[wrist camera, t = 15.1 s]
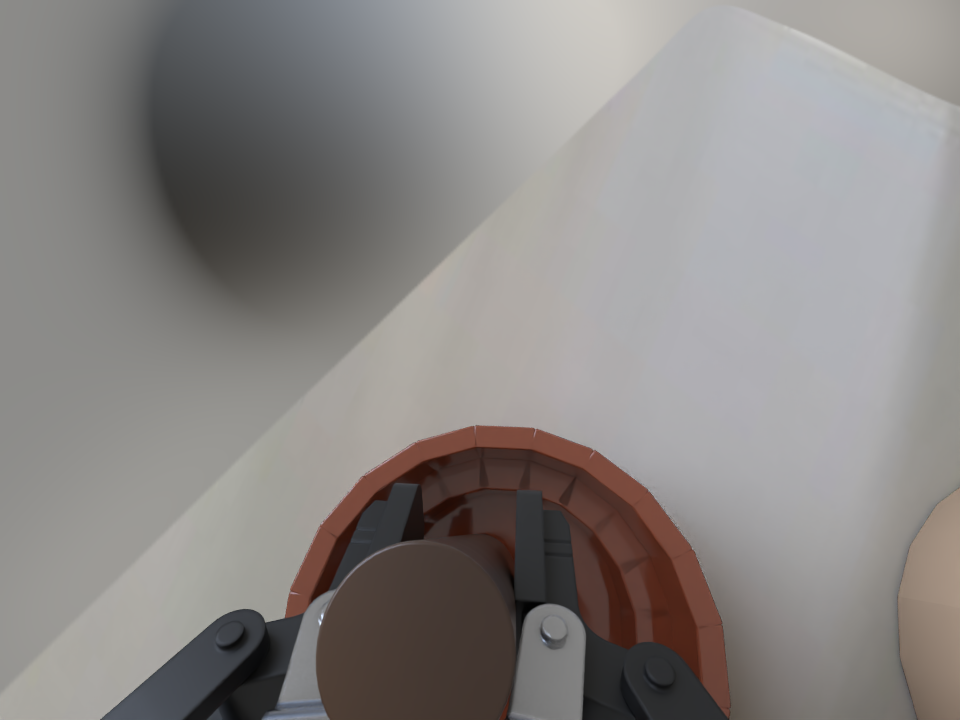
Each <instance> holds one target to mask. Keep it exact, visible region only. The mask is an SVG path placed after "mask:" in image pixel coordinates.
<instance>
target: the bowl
mask: <svg viewBox="0 0 960 720" xmlns="http://www.w3.org/2000/svg"><path fill="white" fill-rule="evenodd" d="M395 483H405V484H420V485H421V489H422V501H423V513H424V539H431V538H441V537H450V536H459V535H468V534H486V535H489V536H492V537H494V538H496V539H497V540H499V541H500V542H501V543H502V544H503V545H504V546H505V547H506V548H507V549H508V551H509V552H510V554H511V556H512V559H513V562H514V565H515V534H516V500H517V490H536V491H542V502H543V510H557V511H561V512H562V514H563V516H564V517H565V519H566V520H567V522H568V523H569V525H570V534H571V544H572V552H573V561H574V569H575V578H576V587H577V596H578V605H579V611H580V613H581V616H582V618H583V620H584V622H585V623H586V624H587V626H588V627H589V628H590V629H591V630H592V631H593V632H594V633H595V634H597V635H598V636H599V637H601V638H603V639H604V640H606V641H609V642H611V643H613V644H616V645H618V646H621V647H623V648H626V649H628V650H629V649H630V648H631V647H632V646H634V645H636V644H638V643H641V642H655V643H659V644H662V645H665V646H667V647H669V648H670V649H672V650H673V651H675V652H676V653H677V654H679V655H680V656H681V657H682V658H683V659H684V661H685V662H686V663H687V664H688V666H689V667H690V668H691V670H692V671H693V672H694V674H695V675H696V676H697V678H698V679H699V680H700V682H701V683H702V684H703V686H704V687H705V688H706V690H707V691H708V692H709V694H710V695H711V696H712V698H713V699H714V700H715V702H716V703H717V704H718V706H719V707H720V708H721V710H722V711H723V712H724V714H725V715H726V716H727V718H728V719H729V716H730V709H729V708H731V703H730V693H729V683H728V674H727V664H726V654H725V644H724V634H723V626H722V625H721V624H722V621H721V618H720V616H719V613H718V610H717V608H716V605H715V603H714V600H713V598H712V595H711V593H710V590H709V588H708V585H707V582H706V580H705V577H704V575H703V572H702V570H701V567H700V565H699V562H698V560H697V557H696V554H695V552H694V550H692V547H691V546H690V544H689V543H688V542H687V540H686V539H685V538H684V536H683V535H682V534H681V533H680V531H679V530H678V529H677V527H676V526H675V525H674V523H673V522H672V521H671V519H670V518H669V517H668V515H667V514H666V513H665V511H664V510H663V509H662V507H661V506H660V505H659V503H658V502H657V501H656V499H655V498H654V497H653V495H652V494H651V493H650V492H649V491H648V489H647V488H645V487H644V486H643V485H641V484H640V483H639V482H637V481H636V480H635V479H633V478H632V477H631V476H629V475H628V474H627V473H625V472H624V471H623V470H621V469H620V468H619V467H617V466H616V465H615V464H613V463H612V462H611V461H609V460H608V459H607V458H605V457H604V456H603V455H601V454H600V453H599V452H597V451H596V450H594V451H593V449H591V448H589V447H586V446H583V445H580V444H578V443H575V442H572V441H569V440H567V439H564V438H561V437H558V436H556V435H553V434H550V433H547V432H545V431H542V430H539V429H534V428H527V427H504V426H480V425H476V426H470V427H466V428H463V429H459V430H455V431H452V432H448V433H444V434H441V435H437V436H433V437H430V438H426V439H423V440H419V441H417V443H416V442H415V443H413V444H411V445H410V446H408V447H406V448H405V449H403V450H402V451H400V452H399V453H397V454H396V455H394V456H392V457H391V458H389V459H388V460H386V461H385V462H383V463H382V464H380V465H378V466H377V467H375V468H374V469H372V470H371V471H369V472H368V473H366V474H365V475H364V476H362V477H361V478H360V479H359V481H358V482H357V483H356V484H355V485H354V486H353V487H352V489H351V490H350V491H349V492H348V493H347V494H346V496H345V497H344V498H343V499H342V500H341V501H340V503H339V504H338V505H337V506H336V507H335V508H334V510H333V511H332V512H331V513H330V514H329V515H328V516H327V518H326V519H325V520H324V521H323V522H322V523H321V525H320V527H319V528H318V531H317V533H316V535H315V537H314V539H313V541H312V543H311V546H310V548H309V550H308V552H307V554H306V556H305V558H304V561H303V563H302V565H301V567H300V569H299V571H298V573H297V575H296V578H295V580H294V582H293V584H292V586H291V588H290V593H289V597H288V603H287V609H286V614H285V618H289V617H293V616H296V615H299V614H302V613H304V612H305V611H306V609H307V608H308V606H309V605H310V604H311V603H312V602H313V601H314V600H315V599H316V598H317V597H319V596H320V595H322V594H324V593H326V592H328V590H329V588H330V586H331V584H332V582H333V579H334V577H335V575H336V572H337V570H338V568H339V565H340V563H341V561H342V559H343V556H344V554H345V552H346V549H347V547H348V545H349V543H350V542H351V538H352V536H353V533H354V531H356V527H357V524H358V522H359V520H360V517H361V515H362V513H363V512H364V511H365V510H366V509H367V508H368V507H369V506H370V505H371V504H372V503H373V502H374V501H375V500H380V501H387V500H388V498H389V495H390V493H391V490H392V487H393V485H394V484H395ZM510 693H511V692H510ZM509 699H510V695H509V698H508V701H507V704H506V706H505V708H504V710H503V713H502V715H501V717H500V719H499V720H504V718H506V714H507V710H508V705H509Z"/></svg>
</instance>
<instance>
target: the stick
mask: <svg viewBox="0 0 960 720" xmlns="http://www.w3.org/2000/svg"><path fill="white" fill-rule="evenodd" d="M514 570H515V565H514V562H513V559H512V556H511V554H510V552H509V551H508V549H507V548H506V547H505V546H504V545H503V544H502V543H501V542H500V541H499V540H497V539H496V538H494V537H492V536H489V535H486V534H468V535H459V536H450V537H441V538H431V539H422V540H413V541H406V542H400V543H396V544H393V545H390V546H387V547H385V548H383V549H380V550H378V551H376V552H374V553H373V554H371V555H370V556H368V557H366V558H365V559H364V560H363V561H361V562H360V563H359V564H358V565H356V566H355V567H354V568H353V569H352V570H351V571H350V572H349V573H348V574H347V575H346V577H345V578H344V579H343V581H342V582H341V583H340V585H339V586H338V587H337V589H336V591H335V592H334V594H333V596H332V597H331V599H330V601H329V604H328V606H327V608H326V610H325V612H324V616H323V619H322V622H321V625H320V629H319V634H318V639H317V647H316V676H317V684H318V689H319V693H320V697H321V701H322V704H323V706H324V709H325V712H326V714H327V716H328V718H329V720H499V719H500V717H501V715H502V713H503V710H504V708H505V706H506V704H507V701H508V698H509V695H510V692H511V689H512V684H513V679H514V674H515V665H516V604H515V597H514Z"/></svg>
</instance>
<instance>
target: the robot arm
mask: <svg viewBox="0 0 960 720" xmlns="http://www.w3.org/2000/svg"><path fill="white" fill-rule="evenodd" d="M422 539H424V513H423V501H422V489H421V485H420V484H405V483H395V484H394V485H393V487H392V490H391V493H390V495H389V498H388V500H387V501H380V500H375V501H374V502H373V503H372V504H371V505H370V506H369V507H368V508H367V509H366V510H365V511H364V512H363V513H362V515H361V517H360V520H359V522H358V524H357V527H356V531H354V533H353V536H352V538H351V542H350V543H349V545H348V547H347V549H346V552H345V554H344V556H343V559H342V561H341V563H340V565H339V568H338V570H337V572H336V575H335V577H334V579H333V582H332V584H331V586H330V588H329V590H328V592H326V593H324V594H322V595H320V596H319V597H317V598H316V599H315V600H314V601H313V602H312V603H311V604H310V605H309V606H308V608H307V609H306V611H305V612H304V613H302V614H299V615H296V616H293V617H289V618H284V619H280V620H276V621H271V622H267V623H265V621H264V618H263V617H262V615H261V614H260V613H258V612H257V611H254V610H251V609H241V610H236V611H233V612H230V613H227V614H225V615H223V616H222V617H220V618H218V619H217V620H216V621H214V622H213V623H212V624H211V625H209V626H208V627H207V628H206V629H205V630H204V631H203V632H201V633H200V634H199V635H198V636H197V637H196V638H194V639H193V640H192V641H191V642H190V643H189V644H187V645H186V646H185V647H184V648H183V649H182V650H180V651H179V652H178V653H177V654H176V655H175V656H174V657H172V658H171V659H170V660H169V661H168V662H167V663H165V664H164V665H163V666H162V667H161V668H160V669H158V670H157V671H156V672H155V673H154V674H153V675H151V676H150V677H149V678H148V679H147V680H146V681H145V682H143V683H142V684H141V685H140V686H139V687H138V688H136V689H135V690H134V691H133V692H132V693H131V694H129V695H128V696H127V697H126V698H125V699H124V700H122V701H121V702H120V703H119V704H118V705H117V706H116V707H114V708H113V709H112V710H111V711H110V712H109V713H107V714H106V715H105V716H104V717H103V718H102V719H100V720H329V718H328V716H327V714H326V712H325V709H324V706H323V704H322V701H321V697H320V693H319V689H318V684H317V676H316V647H317V639H318V634H319V629H320V625H321V622H322V619H323V616H324V612H325V610H326V608H327V606H328V604H329V601H330V599H331V597H332V596H333V594H334V592H335V591H336V589H337V587H338V586H339V585H340V583H341V582H342V581H343V579H344V578H345V577H346V575H347V574H348V573H349V572H350V571H351V570H352V569H353V568H354V567H355V566H356V565H358V564H359V563H360V562H361V561H363V560H364V559H365V558H366V557H368V556H370V555H371V554H373V553H374V552H376V551H378V550H380V549H383V548H385V547H387V546H390V545H393V544H396V543H400V542H406V541H413V540H422ZM514 597H515V604H516V665H515V674H514V679H513V684H512V689H511V693H510V699H509V705H508V710H507V714H506V718H504V720H729V719H728V718H727V716H726V715H725V714H724V712H723V711H722V710H721V708H720V707H719V706H718V704H717V703H716V702H715V700H714V699H713V698H712V696H711V695H710V694H709V692H708V691H707V690H706V688H705V687H704V686H703V684H702V683H701V682H700V680H699V679H698V678H697V676H696V675H695V674H694V672H693V671H692V670H691V668H690V667H689V666H688V664H687V663H686V662H685V661H684V659H683V658H682V657H681V656H680V655H679V654H677V653H676V652H675V651H673V650H672V649H670V648H669V647H667V646H665V645H662V644H659V643H655V642H641V643H638V644H636V645H634V646H632V647H631V648H630V649H629V650H628V649H626V648H623V647H621V646H618V645H616V644H613V643H611V642H609V641H606V640H604V639H603V638H601V637H599V636H598V635H597V634H595V633H594V632H593V631H592V630H591V629H590V628H589V627H588V626H587V624H586V623H585V622H584V620H583V618H582V616H581V613H580V611H579V605H578V596H577V587H576V578H575V569H574V561H573V552H572V544H571V534H570V525H569V523H568V522H567V520H566V519H565V517H564V516H563V514H562V512H561V511H557V510H543V502H542V491H536V490H517V500H516V534H515V570H514Z"/></svg>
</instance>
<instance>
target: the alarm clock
mask: <svg viewBox="0 0 960 720" xmlns="http://www.w3.org/2000/svg"><path fill="white" fill-rule="evenodd" d="M898 620H899V644H900V659H901V663H902V666H903V670H904V673H905V677H906V680H907V684H908V687H909V691H910V694H911V698H912V701H913V705H914V708H915V712H916V715H917V719H918V720H960V488H958V489H957V490H956V491H954V492H953V493H952V494H950V495H949V496H948V497H946V498H945V499H944V500H942V501H941V502H940V503H938V504H937V505H936V507H935V508H934V510H933V511H932V513H931V514H930V516H929V517H928V519H927V520H926V522H925V524H924V525H923V527H922V528H921V530H920V531H919V533H918V534H917V536H916V537H915V539H914V540H913V542H912V544H911V545H910V548H909V552H908V556H907V561H906V565H905V569H904V573H903V577H902V581H901V585H900V589H899V593H898Z"/></svg>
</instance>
